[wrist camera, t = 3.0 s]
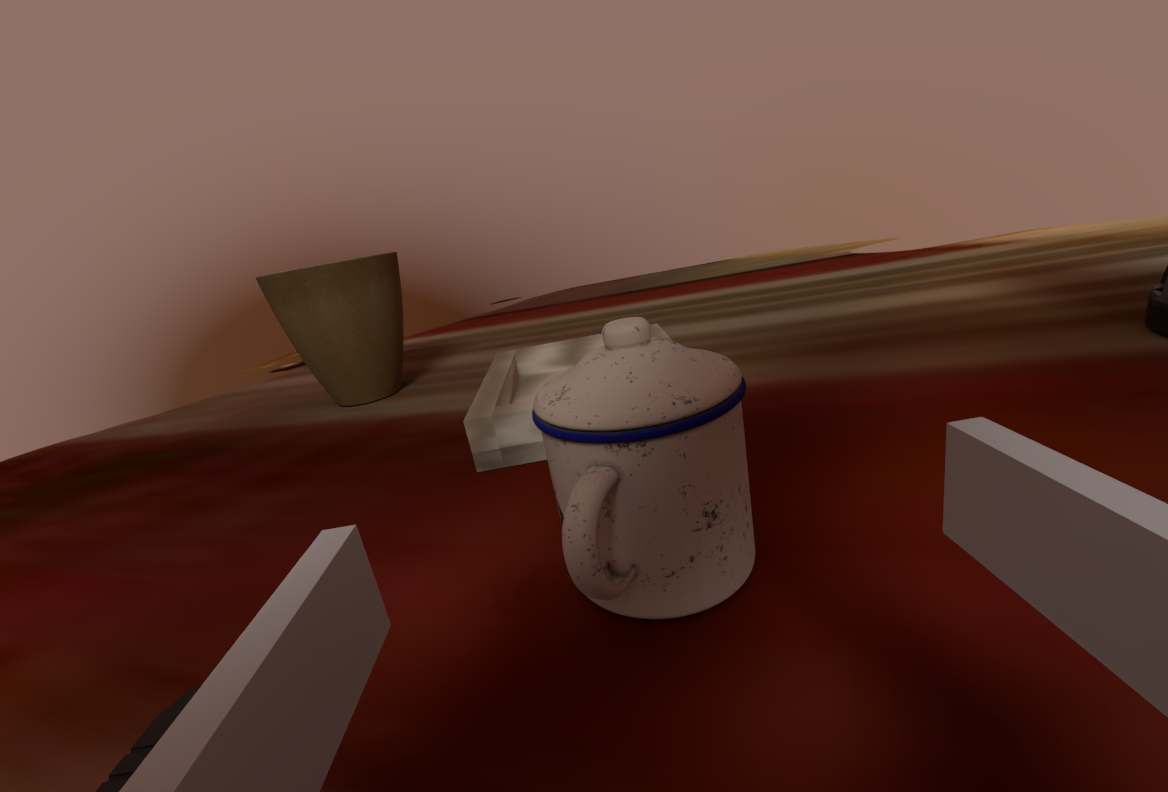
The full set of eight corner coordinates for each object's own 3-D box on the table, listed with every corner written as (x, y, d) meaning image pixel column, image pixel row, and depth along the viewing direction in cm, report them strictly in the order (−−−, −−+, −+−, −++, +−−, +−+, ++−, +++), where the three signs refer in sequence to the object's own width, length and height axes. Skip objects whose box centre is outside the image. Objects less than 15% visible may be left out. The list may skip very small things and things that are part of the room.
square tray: (662, 360, 58) (657, 323, 57) (710, 430, 39) (704, 377, 38) (505, 388, 58) (496, 353, 57) (477, 472, 39) (463, 421, 38)
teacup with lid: (610, 502, 32) (573, 307, 28) (773, 514, 28) (755, 288, 24) (499, 659, 22) (420, 387, 18) (729, 713, 18) (687, 377, 14)
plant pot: (434, 395, 61) (394, 250, 56) (294, 430, 58) (237, 280, 53) (430, 367, 75) (397, 249, 70) (316, 395, 72) (273, 272, 66)
